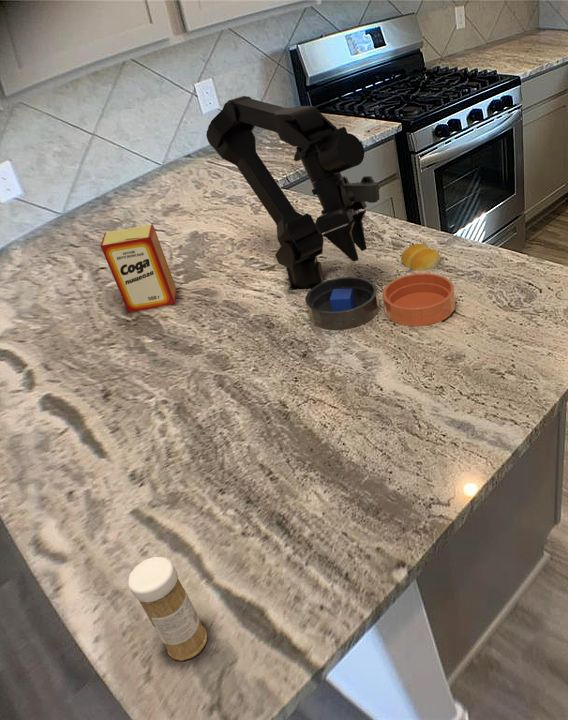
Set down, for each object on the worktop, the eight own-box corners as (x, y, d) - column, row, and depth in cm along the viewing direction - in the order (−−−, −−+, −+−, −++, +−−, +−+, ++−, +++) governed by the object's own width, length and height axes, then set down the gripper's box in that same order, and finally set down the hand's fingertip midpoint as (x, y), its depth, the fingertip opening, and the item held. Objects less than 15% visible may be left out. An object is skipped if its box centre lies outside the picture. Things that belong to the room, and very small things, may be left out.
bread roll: (420, 276, 146) (418, 260, 143) (396, 263, 151) (394, 247, 149) (449, 263, 150) (447, 247, 148) (424, 251, 156) (423, 235, 153)
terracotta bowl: (382, 330, 129) (379, 310, 126) (389, 293, 141) (386, 274, 138) (454, 327, 129) (453, 307, 126) (455, 290, 140) (454, 271, 137)
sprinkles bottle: (172, 630, 79) (132, 559, 71) (211, 622, 79) (175, 551, 71) (164, 666, 75) (122, 595, 67) (206, 658, 76) (168, 587, 68)
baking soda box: (128, 312, 141) (99, 243, 131) (131, 297, 146) (104, 230, 136) (175, 303, 142) (149, 235, 133) (176, 289, 148) (152, 222, 138)
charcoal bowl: (303, 334, 130) (298, 314, 127) (316, 297, 141) (312, 278, 139) (375, 330, 129) (372, 311, 126) (383, 293, 141) (380, 275, 138)
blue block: (333, 316, 133) (329, 299, 131) (336, 306, 136) (332, 289, 134) (352, 315, 133) (349, 298, 131) (355, 305, 136) (352, 288, 134)
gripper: (356, 166, 113) (392, 251, 118) (373, 157, 131) (403, 231, 136) (297, 190, 115) (335, 272, 120) (322, 178, 132) (354, 250, 138)
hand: (360, 255), depth 128 cm, fingers open, 9 cm apart
